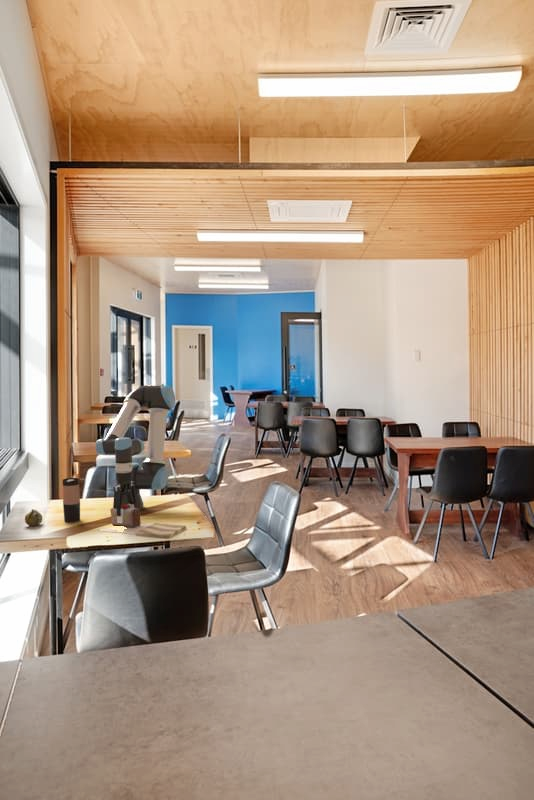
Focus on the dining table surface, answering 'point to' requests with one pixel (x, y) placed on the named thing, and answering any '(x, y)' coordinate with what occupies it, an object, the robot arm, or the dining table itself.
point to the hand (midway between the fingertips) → (125, 520)
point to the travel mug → (71, 500)
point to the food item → (127, 516)
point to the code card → (128, 529)
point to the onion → (33, 518)
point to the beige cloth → (161, 530)
